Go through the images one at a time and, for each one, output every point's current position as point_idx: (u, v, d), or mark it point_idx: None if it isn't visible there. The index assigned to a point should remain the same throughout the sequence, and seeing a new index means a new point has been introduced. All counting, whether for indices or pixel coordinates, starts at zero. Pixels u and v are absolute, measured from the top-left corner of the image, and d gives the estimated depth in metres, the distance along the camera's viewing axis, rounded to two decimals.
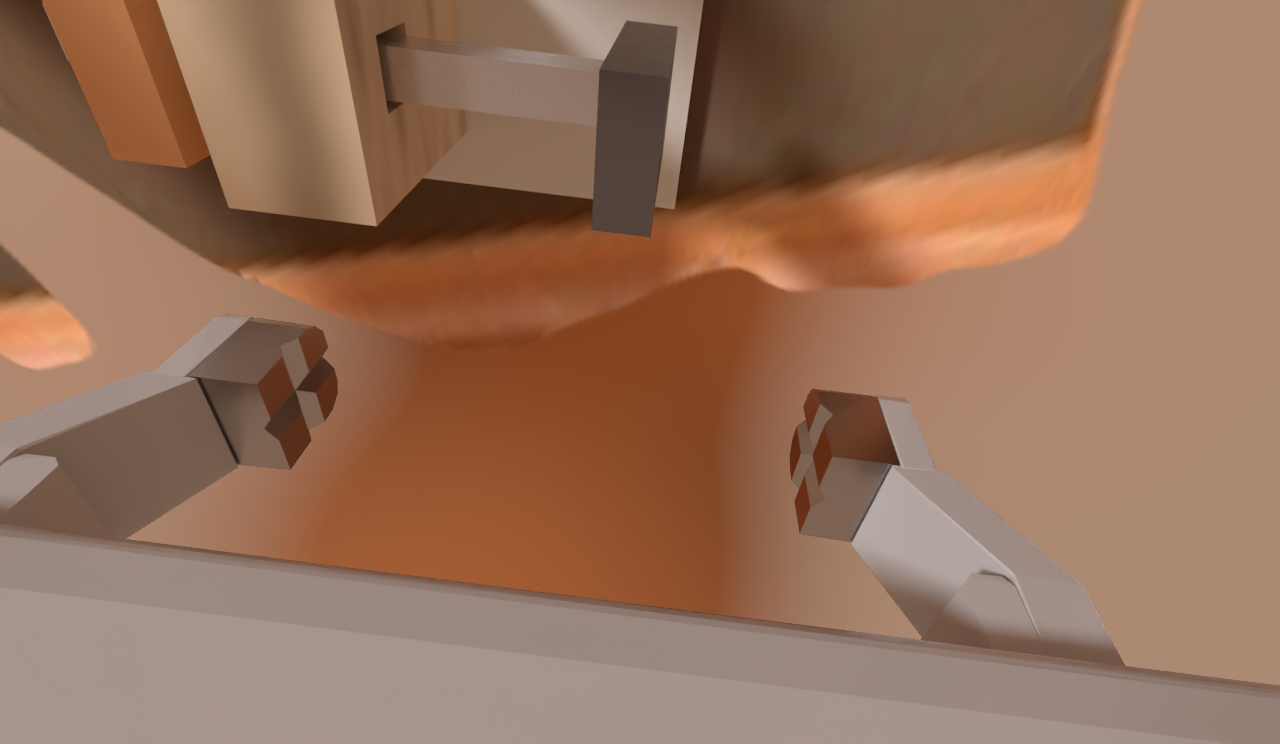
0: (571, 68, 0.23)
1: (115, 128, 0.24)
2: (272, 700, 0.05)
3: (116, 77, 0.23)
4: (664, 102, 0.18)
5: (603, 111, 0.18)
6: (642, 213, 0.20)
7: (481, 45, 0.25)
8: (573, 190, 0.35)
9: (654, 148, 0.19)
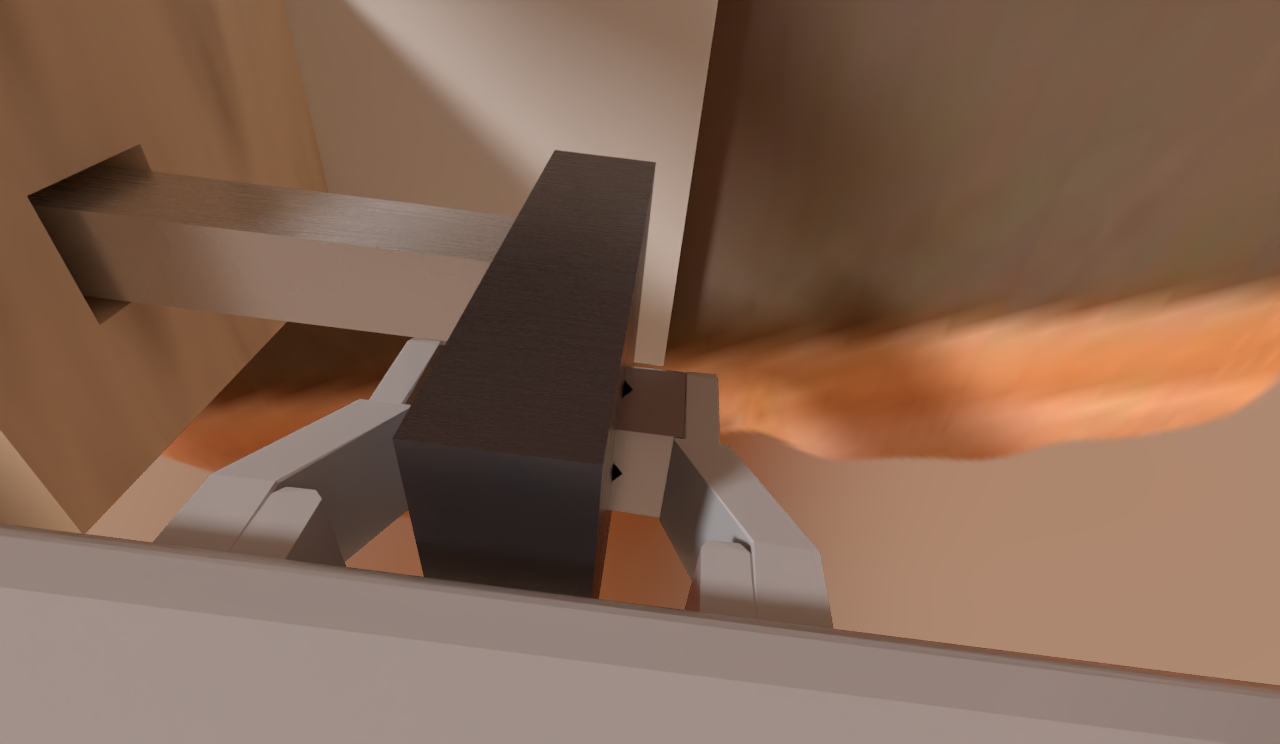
0: (439, 253, 0.11)
1: None
2: (272, 700, 0.05)
3: None
4: (594, 510, 0.06)
5: (426, 516, 0.06)
6: None
7: (283, 189, 0.13)
8: None
9: (575, 582, 0.07)
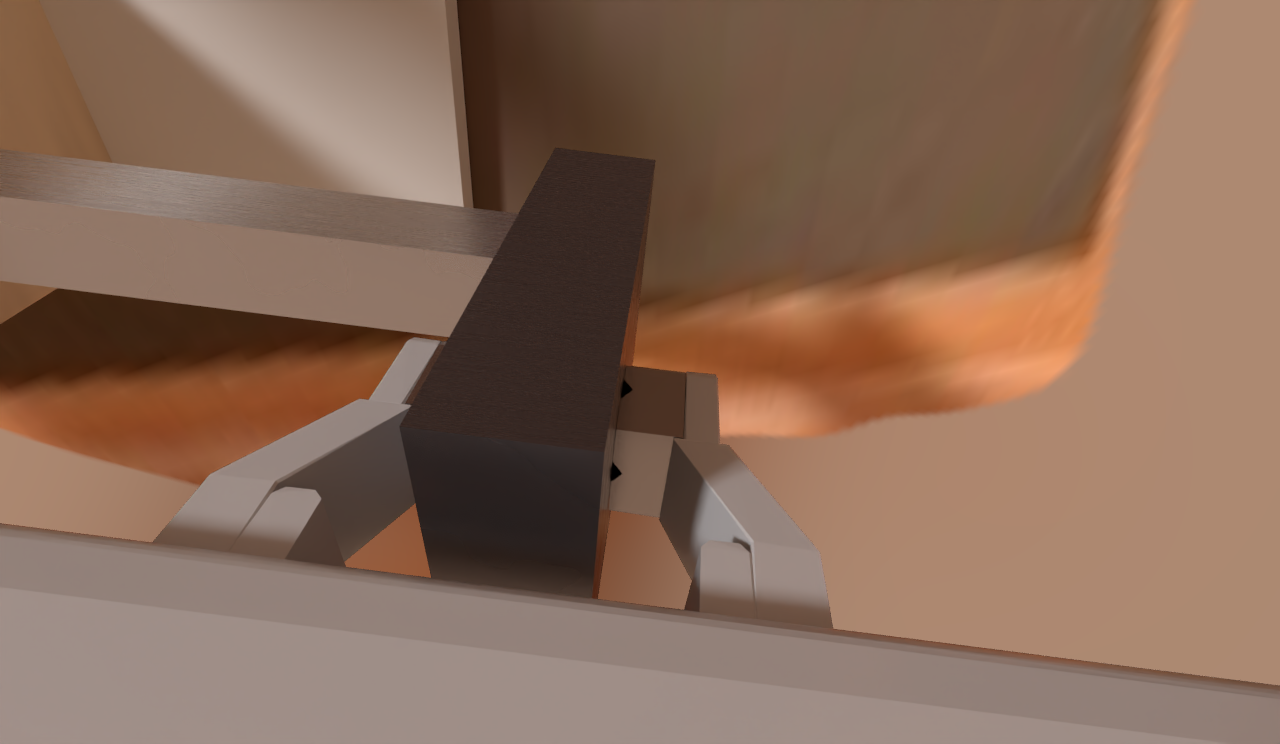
0: (441, 250, 0.12)
1: None
2: (272, 700, 0.05)
3: None
4: (596, 497, 0.06)
5: (431, 504, 0.07)
6: None
7: (286, 186, 0.13)
8: None
9: (576, 569, 0.07)
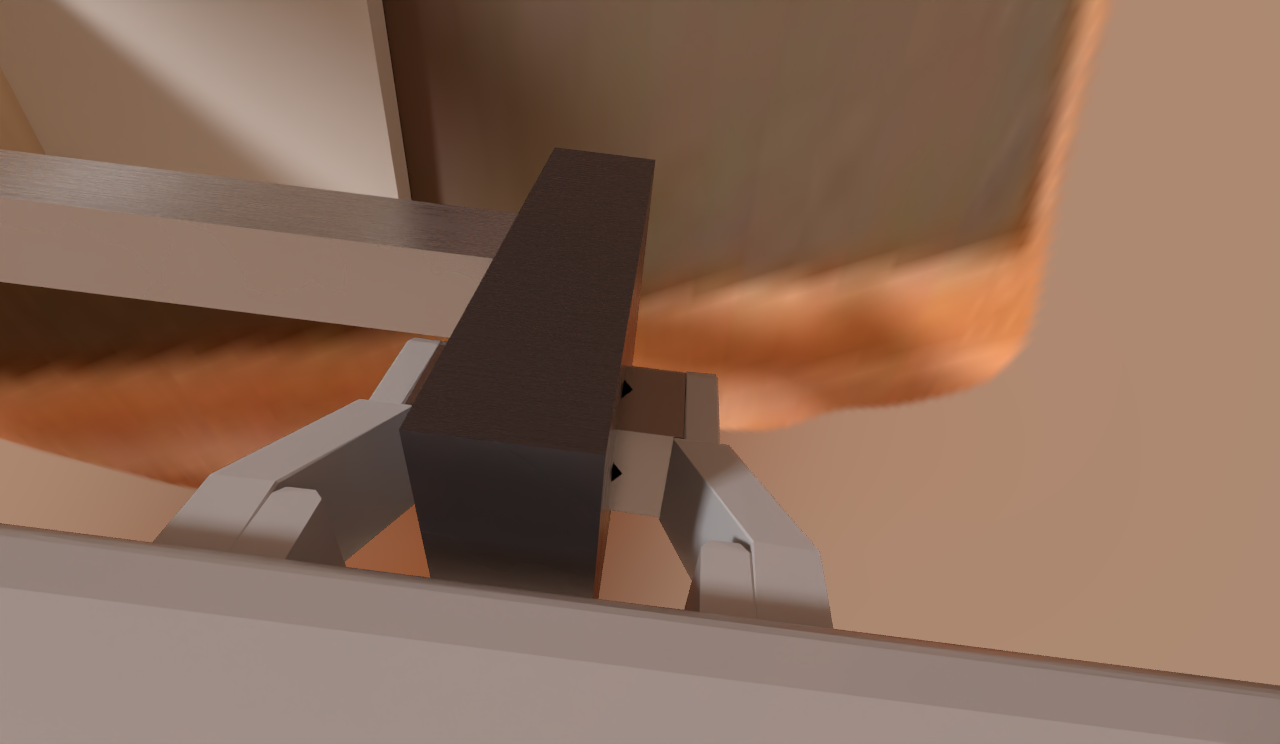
0: (440, 250, 0.12)
1: None
2: (270, 700, 0.05)
3: None
4: (597, 500, 0.06)
5: (431, 507, 0.07)
6: None
7: (284, 186, 0.13)
8: None
9: (577, 572, 0.07)
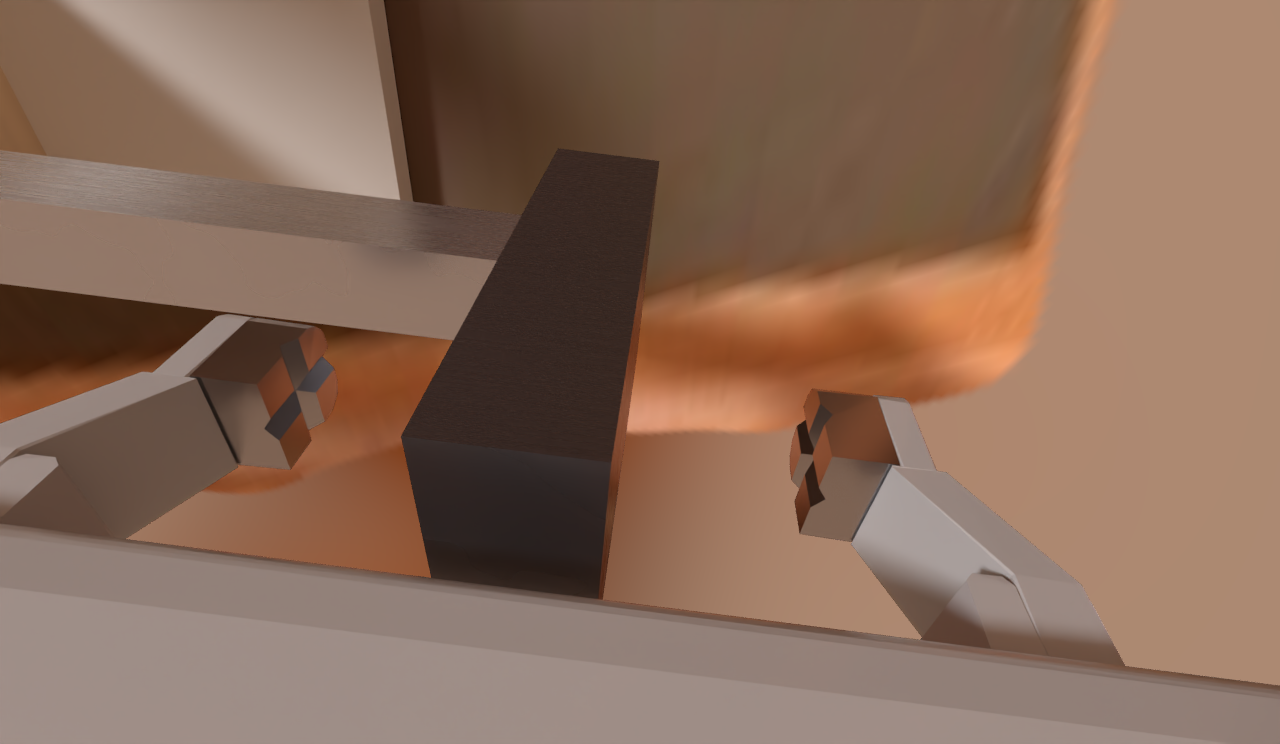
0: (443, 252, 0.11)
1: None
2: (270, 700, 0.05)
3: None
4: (602, 508, 0.06)
5: (434, 514, 0.06)
6: None
7: (285, 187, 0.13)
8: None
9: (581, 579, 0.07)
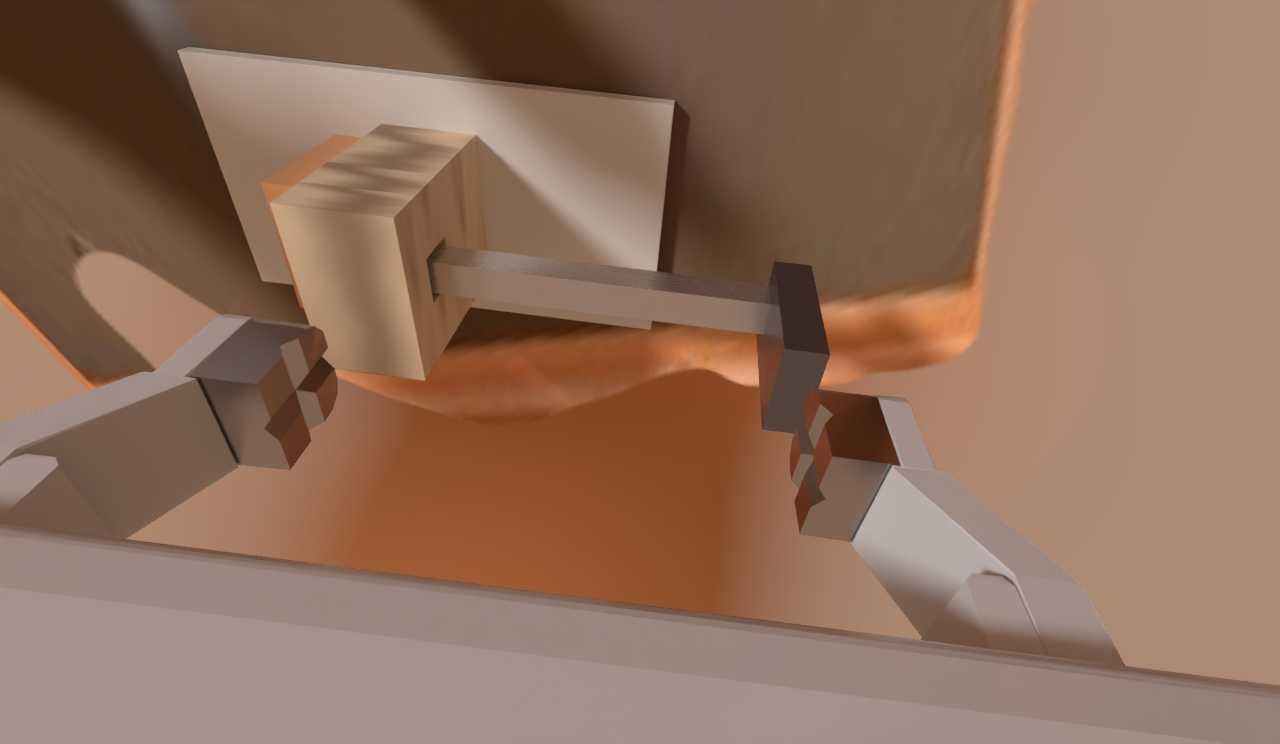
0: (736, 299, 0.33)
1: None
2: (270, 700, 0.05)
3: None
4: (824, 366, 0.27)
5: (782, 369, 0.28)
6: (799, 422, 0.30)
7: (666, 273, 0.34)
8: (571, 315, 0.46)
9: (813, 388, 0.28)
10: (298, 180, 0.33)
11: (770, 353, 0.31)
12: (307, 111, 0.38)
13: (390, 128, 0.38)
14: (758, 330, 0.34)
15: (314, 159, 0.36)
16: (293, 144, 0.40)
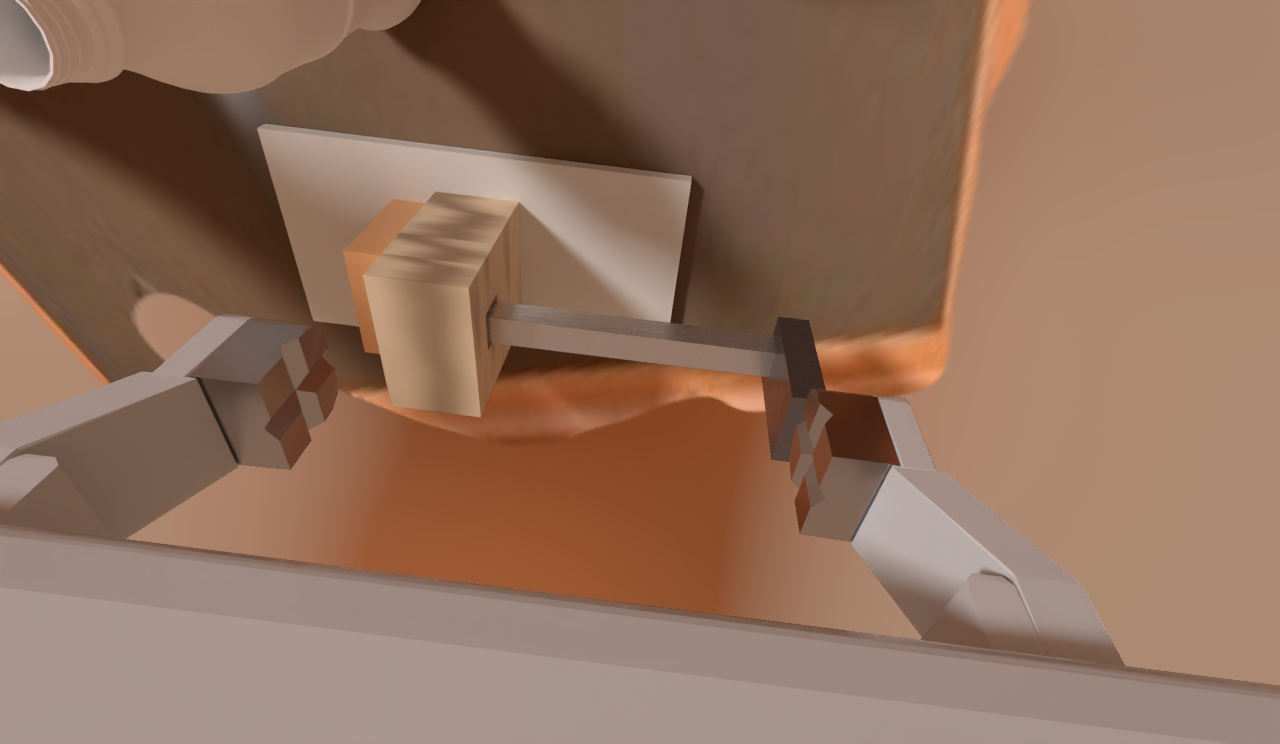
0: (747, 349, 0.39)
1: (371, 338, 0.42)
2: (270, 702, 0.05)
3: None
4: None
5: (790, 412, 0.34)
6: None
7: (687, 325, 0.41)
8: None
9: None
10: (374, 247, 0.39)
11: (777, 396, 0.37)
12: (369, 180, 0.44)
13: (443, 195, 0.43)
14: (765, 374, 0.40)
15: (381, 225, 0.41)
16: (354, 206, 0.45)
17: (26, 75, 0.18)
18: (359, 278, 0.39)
